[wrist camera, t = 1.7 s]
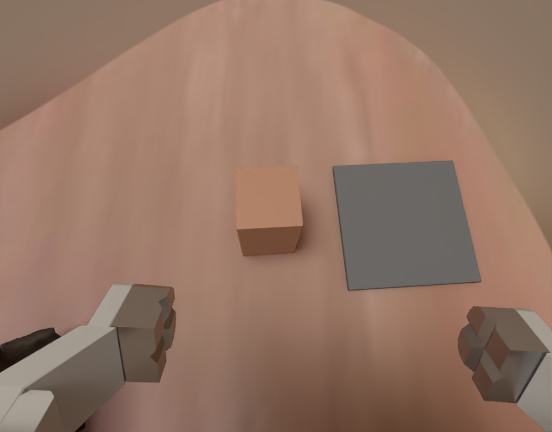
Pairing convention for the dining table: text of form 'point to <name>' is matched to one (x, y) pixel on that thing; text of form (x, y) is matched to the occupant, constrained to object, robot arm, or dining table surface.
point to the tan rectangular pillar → (268, 209)
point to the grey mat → (403, 225)
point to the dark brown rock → (26, 349)
